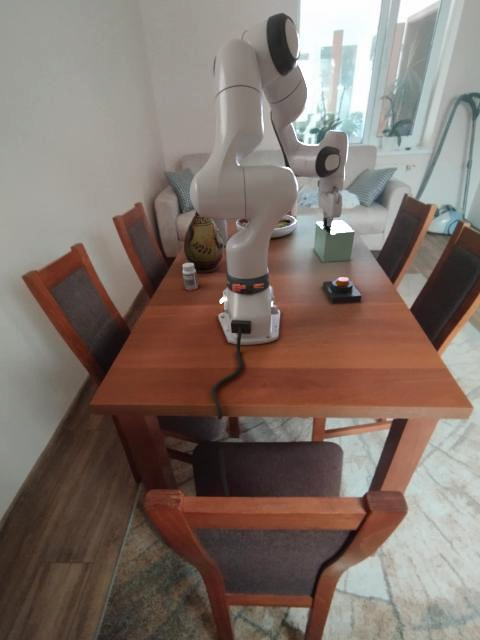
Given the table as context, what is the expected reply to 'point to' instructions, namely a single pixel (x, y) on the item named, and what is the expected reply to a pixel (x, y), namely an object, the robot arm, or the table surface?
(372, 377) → the table surface
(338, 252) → the pale green box
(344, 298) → the black button base
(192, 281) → the pill bottle
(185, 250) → the ceramic jug
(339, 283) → the button
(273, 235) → the bowl
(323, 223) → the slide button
